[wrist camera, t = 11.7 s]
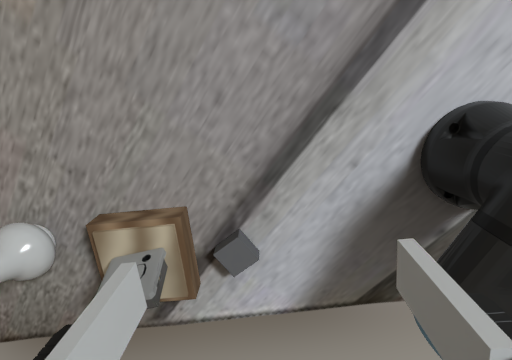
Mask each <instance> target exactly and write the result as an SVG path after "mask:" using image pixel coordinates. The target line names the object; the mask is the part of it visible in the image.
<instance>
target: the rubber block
mask: <svg viewBox="0 0 512 360" xmlns="http://www.w3.org/2000/svg"><path fill="white" fill-rule="evenodd" d="M213 255H214V256H215V257H216V258H217V260H218V261H219V262H220V263H221V264H222V265H223V266H224V267H225V268H226V269H227V270H228V271H229V272H230V273H231V275H232V276H233V277H235V276H236V275H238V274H239V273H241V272H242V271H244V270H245V269H247V268H248V267H249V266H251V265H252V264H254V263H255V262H257V261H258V260H259V250H258V249H257V248H256V247H255V245H254V244H253V243H252V242H251V241H250V240H249V239H248V238H247V236H246V235H245V234H244V233H243V232H242V231H241V230H240V229H238V230H237V231H236V232H234V233H233V234H231V235H230V236H229V237H227V238H226V239H225V240H223V241H222V242H220V243H219V244H218V245H216V247H215V250H214V254H213Z"/></svg>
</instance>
